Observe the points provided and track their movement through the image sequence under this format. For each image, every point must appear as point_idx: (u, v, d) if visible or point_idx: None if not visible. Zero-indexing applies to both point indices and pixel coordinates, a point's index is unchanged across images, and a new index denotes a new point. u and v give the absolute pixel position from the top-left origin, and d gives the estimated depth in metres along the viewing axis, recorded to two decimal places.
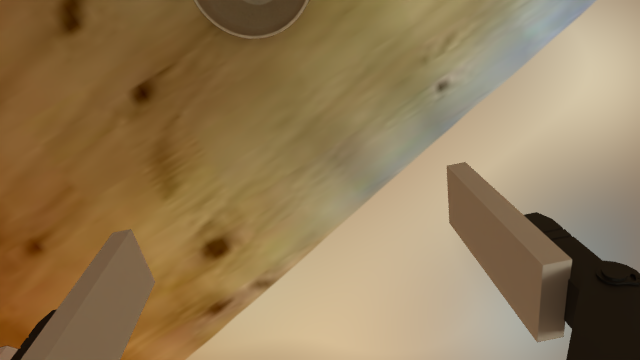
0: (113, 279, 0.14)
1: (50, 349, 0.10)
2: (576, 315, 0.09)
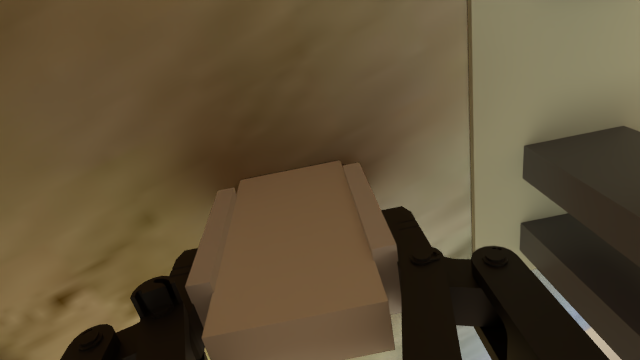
0: None
1: (210, 271, 0.12)
2: (402, 299, 0.10)
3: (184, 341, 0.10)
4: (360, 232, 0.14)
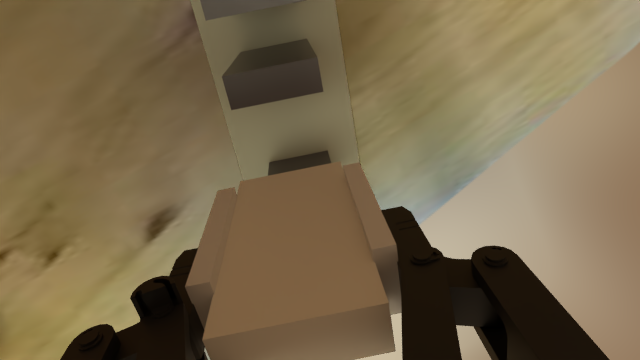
0: None
1: (210, 271, 0.12)
2: (402, 299, 0.10)
3: (184, 341, 0.10)
4: (360, 234, 0.14)
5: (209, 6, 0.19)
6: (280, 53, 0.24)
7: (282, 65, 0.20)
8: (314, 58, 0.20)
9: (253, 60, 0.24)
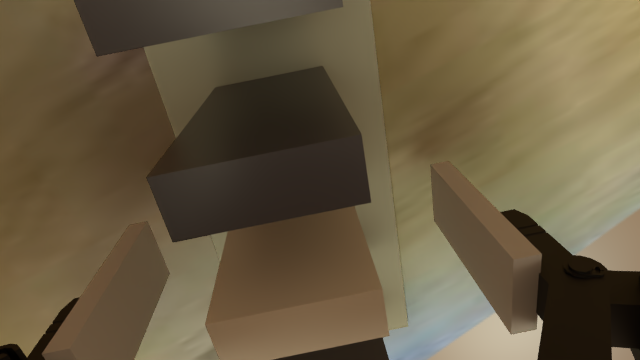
0: (132, 269, 0.14)
1: (76, 333, 0.11)
2: (546, 309, 0.09)
3: None
4: (356, 225, 0.14)
5: (102, 22, 0.08)
6: (279, 103, 0.13)
7: (283, 152, 0.09)
8: (354, 136, 0.09)
9: (227, 119, 0.12)
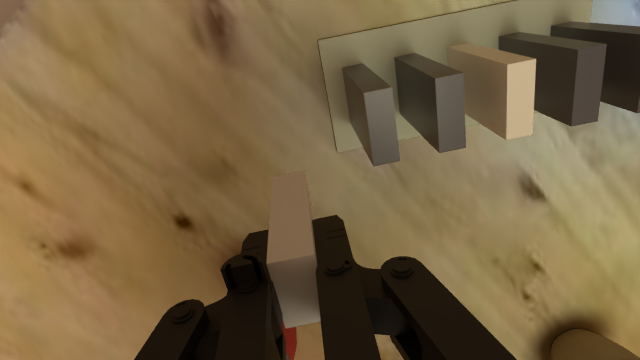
0: None
1: (288, 250, 0.13)
2: (320, 312, 0.10)
3: (266, 321, 0.10)
4: (482, 59, 0.28)
5: (390, 157, 0.26)
6: (415, 93, 0.29)
7: (437, 107, 0.25)
8: (435, 80, 0.25)
9: (420, 117, 0.29)
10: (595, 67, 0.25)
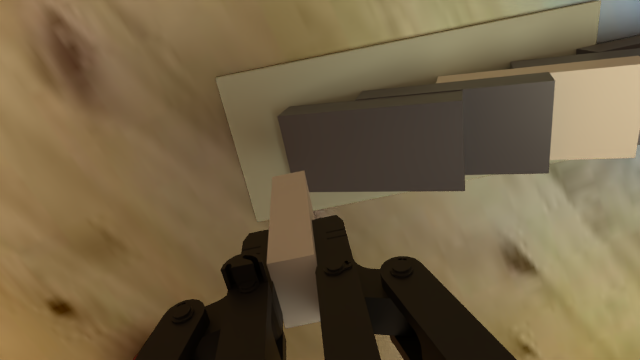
0: None
1: (289, 250, 0.13)
2: (320, 312, 0.10)
3: (266, 321, 0.10)
4: (568, 73, 0.20)
5: None
6: None
7: (552, 116, 0.20)
8: (554, 83, 0.19)
9: (473, 152, 0.22)
10: None
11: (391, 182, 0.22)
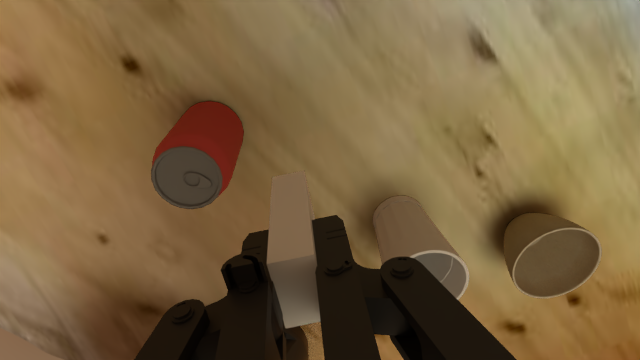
0: None
1: (288, 249, 0.13)
2: (320, 312, 0.10)
3: (266, 321, 0.10)
4: None
5: None
6: None
7: None
8: None
9: None
10: None
11: None
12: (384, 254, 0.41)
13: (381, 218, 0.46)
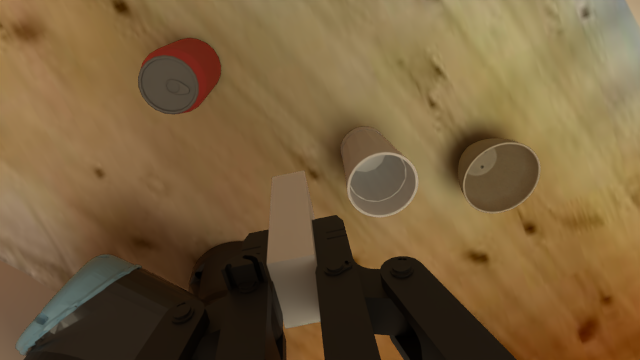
0: None
1: (289, 249, 0.13)
2: (320, 312, 0.10)
3: (266, 321, 0.10)
4: None
5: None
6: None
7: None
8: None
9: None
10: None
11: None
12: (346, 167, 0.47)
13: (346, 144, 0.52)
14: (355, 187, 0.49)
